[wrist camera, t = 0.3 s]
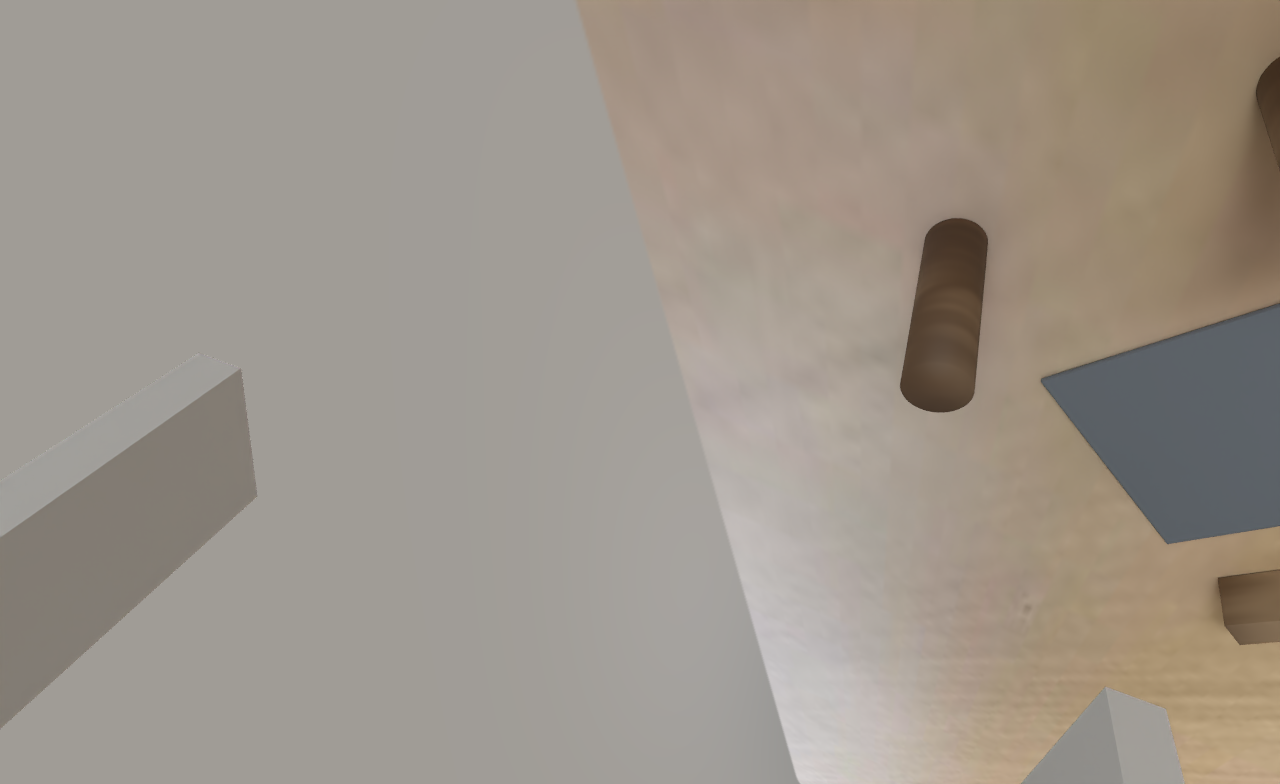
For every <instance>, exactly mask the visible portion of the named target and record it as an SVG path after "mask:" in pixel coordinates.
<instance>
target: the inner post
mask: <svg viewBox="0 0 1280 784" xmlns="http://www.w3.org/2000/svg"><path fill="white" fill-rule="evenodd" d="M1256 95H1257V100H1258V103H1259V106H1260V109H1261V112H1262V116H1263V119H1264V122H1265V125H1266V128H1267V132H1268V135H1269V138H1270V141H1271V144H1272V148H1273V151H1274V154H1275V157H1276V160H1277V164H1278V167H1279V170H1280V57H1279V58H1277V59H1276V60H1275V61H1274V62H1272V63H1271V64H1270V65H1269V66H1268V68H1267V69H1266V70H1265V71H1264V73H1263V74H1262V76H1261V78H1260V80H1259V82H1258V85H1257V90H1256Z"/></svg>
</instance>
